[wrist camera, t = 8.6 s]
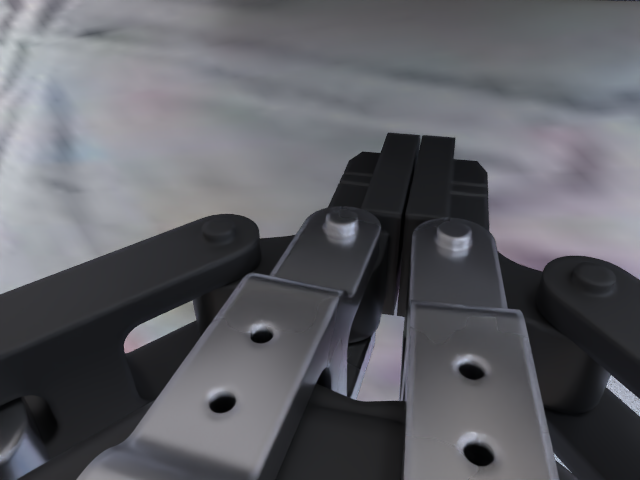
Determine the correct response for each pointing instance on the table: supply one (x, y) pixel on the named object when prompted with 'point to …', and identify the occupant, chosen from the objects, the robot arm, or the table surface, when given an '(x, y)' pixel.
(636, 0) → the oven door
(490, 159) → the table surface
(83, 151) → the table surface
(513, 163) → the table surface
